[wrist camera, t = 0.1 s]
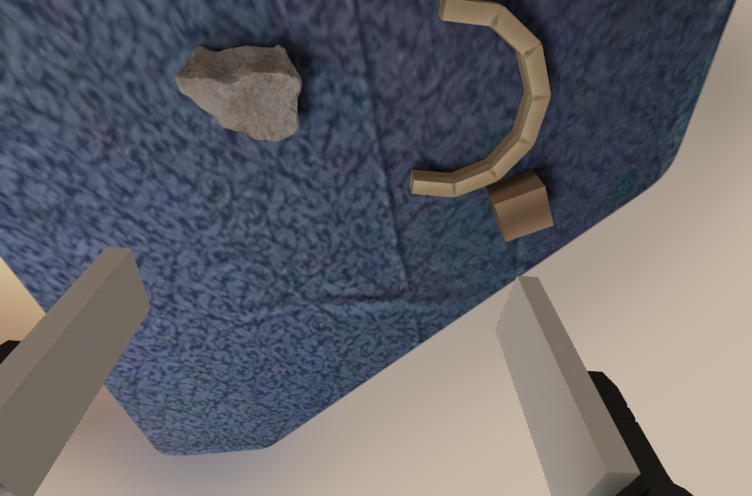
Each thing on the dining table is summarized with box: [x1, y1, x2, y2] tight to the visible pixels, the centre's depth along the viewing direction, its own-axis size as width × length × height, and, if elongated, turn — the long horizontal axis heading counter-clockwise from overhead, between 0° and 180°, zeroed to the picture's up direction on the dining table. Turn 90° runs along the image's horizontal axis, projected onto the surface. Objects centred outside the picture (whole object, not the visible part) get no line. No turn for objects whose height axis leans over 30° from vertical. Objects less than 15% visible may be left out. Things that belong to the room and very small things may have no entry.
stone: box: [175, 45, 302, 142], centre depth 34 cm, size 8×10×6 cm
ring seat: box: [410, 0, 551, 197], centre depth 37 cm, size 17×11×2 cm, turn 174°
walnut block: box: [486, 169, 553, 241], centre depth 42 cm, size 5×5×4 cm
